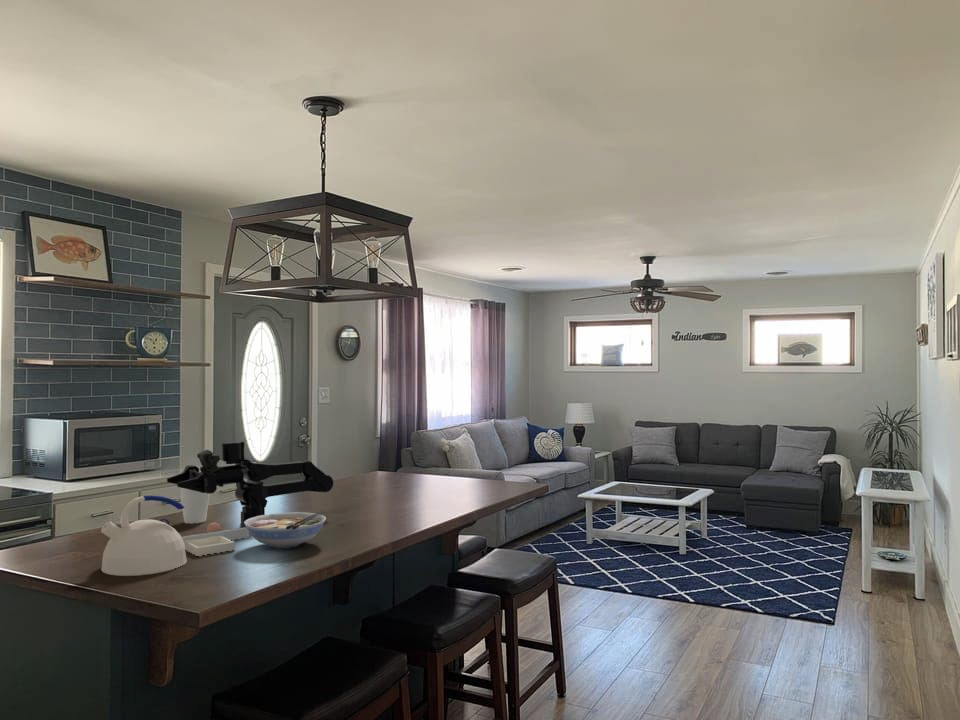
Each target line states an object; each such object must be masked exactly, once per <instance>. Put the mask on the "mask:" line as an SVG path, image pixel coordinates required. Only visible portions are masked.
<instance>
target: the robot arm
mask: <svg viewBox="0 0 960 720" xmlns="http://www.w3.org/2000/svg"><path fill="white" fill-rule="evenodd" d="M196 455H197V458H198V459H199V461H200V464H201V466H199V467H200V468H199V467H198V466H196V465H194V464H187V465H186V466H185V467H184V469H183V471H182V472H180V473H178V474H175V475H173V476H170V477H168V478H166V482H167V483H168V484H169V483H170V484H174V485H176V487H177V488H180V489H181V488H185V489H189V490H193V491H197V492H202V493H207V494H209V495H211V494H214V493H215V492H216V491H217V489H218V487H219V488H222V487H224V486H226V485H227V486H228V485H232V484H234V485H235V487H236V489H235V491H234V496H235V498H236V499H237V500H238V501H239V503H240V506H241V509H242V510H241V511H240V523H239V525H240V526H241V527H242V528H245V527H246V526H245V524H244V522H245V521H246V520H247V519H250V518H253V517H256V516H261V515H266V513H265V511H266V510H265V508H266V507H267V504H268V499H267V498H270V497H276V496H282V495H283V496H284V495H290V494H296V493H301V492H302V493H304V492H312V493H313V492H314V493H315V492H316V493H328V492H330V491H331V490H332V489H333V487H334V480H333V477H332V476H331V475H328V474H325V472H324V471H322V470H321V469H319V467H317V466H316V465H314V463H313V462H312V461H310V460H306V459H305V460H298V461H287V462H286V461H285V462H278V463H265V462H254V461H250V459H246V458H245V441H224V442H221V457H220V455H219V454H214V452H212V451H211V450H209V449H205V450H203V451H200V452H198V453H197V454H196ZM220 460H222V461H223V462H225V464H226V466H218V463H219V462H220ZM295 474H302V475H303V476H304V478H301V479H295V480H290V481H289V480H288V481H287V480H286V481H282V482H281V481H280V482H276V483H275V482H274V483H267V484H264V480H267V479H269V478H271V477H276V476H283V475H284V476H285V475H295ZM245 480H248V481H245Z"/></svg>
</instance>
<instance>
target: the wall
mask: <svg viewBox="0 0 960 720" xmlns="http://www.w3.org/2000/svg"><path fill="white" fill-rule="evenodd" d="M215 536H223V537H225V538H227V539H229V540H232V541H236V540H235V539H238V540H243V539H242V538H245V539H249V538H250V532H249V531H248V529H247V528H246V527H237V528H233V529H226V530H225V529H224V530H221V531H217V532H210V533H207V532H204V533H198V534H197V533H196V534H190V535H185V536H181V537H182V540H183V542H184V541H188V540H195V539H202V538H208V537H215Z"/></svg>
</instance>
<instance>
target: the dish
mask: <svg viewBox="0 0 960 720" xmlns="http://www.w3.org/2000/svg"><path fill="white" fill-rule="evenodd" d="M184 544H185V550H186V551H185V552H187V551H188V552H187V553H189V552H190V553H189V554H191V553H192V554H191V555H193V554H194V555H196V556H199V557H203V556H202V555H205V556H208V555H207V554H211V555H215V554H214V553H217V554H221V553H220V552H223V553H226V552H225V551H230V552H233V551H232V550H236V545H235V544H236V542H235V540H232V541H231V540H229V539H227V538H225V537H223V536H215V537H208V538H202V539H195V540H188V541H184ZM194 555H193V556H194ZM196 556H195V557H196Z"/></svg>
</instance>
